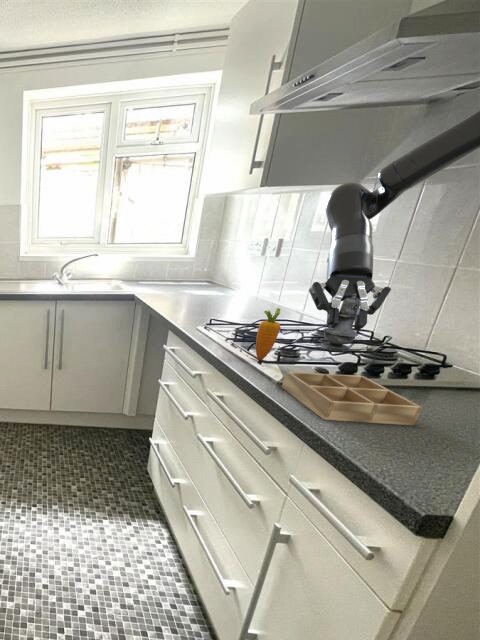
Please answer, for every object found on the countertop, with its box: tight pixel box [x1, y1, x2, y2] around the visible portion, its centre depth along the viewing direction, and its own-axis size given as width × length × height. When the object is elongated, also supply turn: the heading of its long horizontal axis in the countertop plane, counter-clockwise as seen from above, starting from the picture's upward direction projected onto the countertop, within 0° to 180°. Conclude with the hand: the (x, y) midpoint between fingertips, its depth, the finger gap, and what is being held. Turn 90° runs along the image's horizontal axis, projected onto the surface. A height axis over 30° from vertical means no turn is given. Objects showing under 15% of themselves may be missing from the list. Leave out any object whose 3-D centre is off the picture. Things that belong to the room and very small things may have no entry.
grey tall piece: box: [319, 293, 361, 352], centre depth 89 cm, size 6×6×12 cm
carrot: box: [255, 307, 281, 362], centre depth 115 cm, size 5×5×15 cm
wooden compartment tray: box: [281, 371, 424, 426], centre depth 92 cm, size 16×16×4 cm
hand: (346, 326), depth 88 cm, fingers closed on grey tall piece, 3 cm apart
